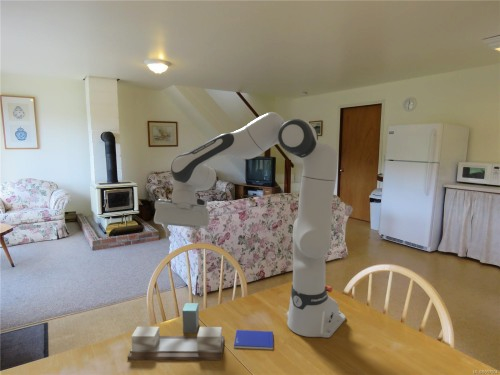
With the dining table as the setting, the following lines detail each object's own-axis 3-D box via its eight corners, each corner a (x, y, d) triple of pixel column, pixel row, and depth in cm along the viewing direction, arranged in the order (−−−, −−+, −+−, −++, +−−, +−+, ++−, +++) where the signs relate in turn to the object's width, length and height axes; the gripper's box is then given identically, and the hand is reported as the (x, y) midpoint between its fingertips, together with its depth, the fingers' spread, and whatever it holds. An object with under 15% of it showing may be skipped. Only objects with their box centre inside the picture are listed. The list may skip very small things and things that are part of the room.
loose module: (198, 323, 112) (198, 303, 111) (196, 332, 107) (195, 310, 106) (186, 323, 112) (185, 303, 111) (183, 332, 107) (182, 310, 106)
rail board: (224, 338, 104) (223, 322, 103) (221, 359, 94) (220, 341, 93) (139, 338, 104) (138, 322, 103) (127, 359, 94) (126, 341, 93)
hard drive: (233, 344, 99) (273, 346, 99) (236, 329, 107) (272, 330, 107) (233, 349, 100) (272, 351, 99) (236, 333, 108) (272, 334, 107)
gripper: (156, 195, 113) (153, 232, 107) (211, 202, 121) (210, 237, 115) (153, 201, 118) (150, 237, 113) (206, 207, 126) (205, 241, 121)
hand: (181, 237), depth 114 cm, fingers open, 8 cm apart
